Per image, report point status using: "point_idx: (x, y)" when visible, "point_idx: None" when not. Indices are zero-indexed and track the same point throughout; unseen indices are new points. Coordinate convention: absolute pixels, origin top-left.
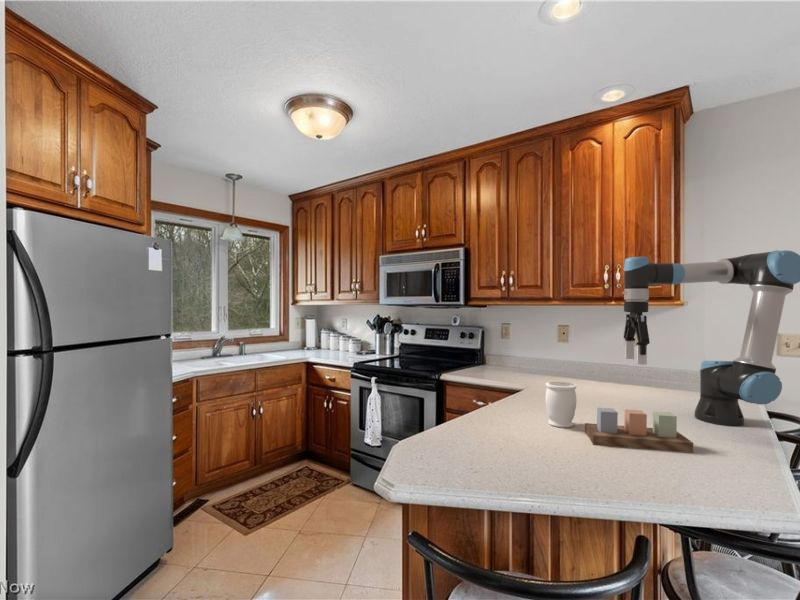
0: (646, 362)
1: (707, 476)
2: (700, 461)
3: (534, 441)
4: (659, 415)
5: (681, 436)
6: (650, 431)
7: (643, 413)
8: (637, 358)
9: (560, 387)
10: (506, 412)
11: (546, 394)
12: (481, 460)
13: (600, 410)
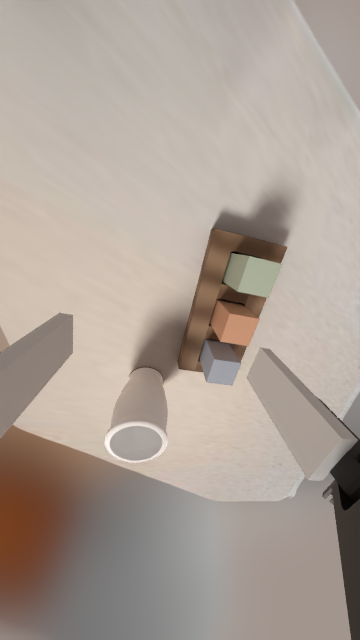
0: (275, 356)
1: (346, 287)
2: (307, 260)
3: (215, 420)
4: (268, 296)
5: (254, 244)
6: (224, 286)
7: (252, 321)
8: (263, 398)
9: (164, 447)
10: (92, 430)
11: (140, 440)
12: (259, 460)
13: (226, 383)
